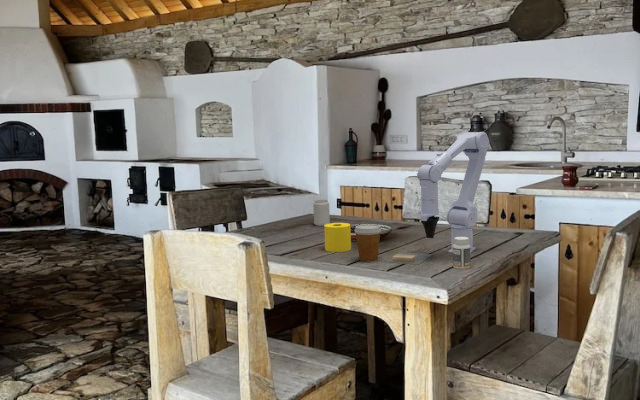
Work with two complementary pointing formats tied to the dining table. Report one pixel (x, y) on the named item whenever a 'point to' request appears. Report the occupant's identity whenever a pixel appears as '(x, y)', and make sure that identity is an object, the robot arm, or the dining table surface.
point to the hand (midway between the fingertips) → (430, 237)
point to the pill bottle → (461, 253)
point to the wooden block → (404, 258)
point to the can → (321, 212)
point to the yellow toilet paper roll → (337, 237)
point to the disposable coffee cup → (368, 241)
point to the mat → (419, 260)
